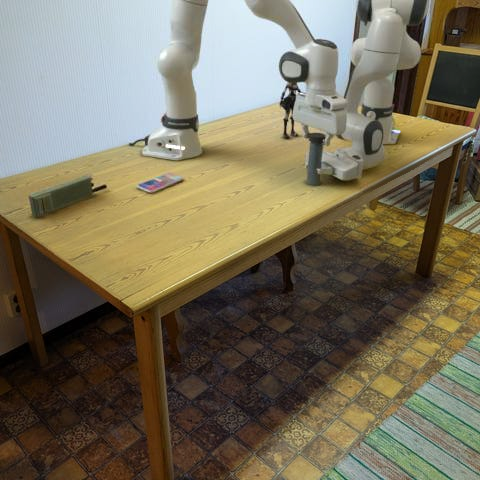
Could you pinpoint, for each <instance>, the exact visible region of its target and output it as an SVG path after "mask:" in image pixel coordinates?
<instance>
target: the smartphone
mask: <svg viewBox="0 0 480 480" xmlns="http://www.w3.org/2000/svg"><path fill="white" fill-rule="evenodd" d="M182 181H184V177H183V176H180V175H179V174H174V173H172V172H166V173H163V174H161V175H159V176H156V177H154V178H151V179H149V180H146V181H143V182H141V183H138V184H137V185H136V188H137V189H139V190H141V191H143V192H145V193H148V194H154V193H156V192H158V191H160V190H161V191H162V190H164V189H166V188H168V187H170V186H172V185H175V184H177V183H180V182H182Z"/></svg>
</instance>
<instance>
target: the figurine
mask: <svg viewBox="0 0 480 480" xmlns="http://www.w3.org/2000/svg"><path fill="white" fill-rule="evenodd" d="M287 90H288V92H289V93H288V94H287V96H286V92H287ZM300 92H302V91H301V88H299V86H298V83H289V82H287V83H286V85H285V87H284V89H283V91H282V92H281V96H280V101H279V108H280V109H281V108H282V109H283V110H284V111H285V115H284V118H283V119H282V121H283V133H282V137H283V138H284V139H286V140H289V139H290V136H289V135H288V132H287V130H288V129H287V127H288V123H289V122H290V124H291V130H290V135H291V136H294V137H298V136H299V133H297V132H296V131H295V121H294V120H293V109H294V104H295V101H296V95H297V94H298V93H300Z"/></svg>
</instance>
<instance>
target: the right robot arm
mask: <svg viewBox="0 0 480 480" xmlns="http://www.w3.org/2000/svg"><path fill="white" fill-rule="evenodd" d="M429 7H430V0H356V1H355V11H356V12H355V13H356V16H357V18H358V19H359V20H360V21H361V22H362V23H363V25H364V27H367V25H368V23H370V25H369V28H368V31H367V34H366V37H361V38H357V39H356V40H355V41H353V43H352V44H351V47H350V48H349V49H350V50H349V58H350V61H351V63H352V64H353V65H354V67H353V69H352V71H351V73H350V76H349V79H348V82H347V85H346V88H345V91H344V95H343V98H344V99H346V100H347V102H348V105H347V107H346V108H344V109H345V110H346V112H347V122H346V130H345V132H344V133H343V134H340V135H335V137H336V138H337V139H339V140H342V141H346V142H350V143H351V145H350V146H345V147H341V148H337V149H335V150H334V152H333V153H331V152H329V151H327V150H324V149H323V154H322V164H321V167H320V168H317V169H316V173H318V174H320V175H330V176H333V177H335V178H336V179H339V180H341V181H351V180H355V179H356V180H357V179H361V178H362V175H363V171H364V170H369V169H371V168H374V167H376V166H379V165H380V164H381V163H382V162H383V161H384V159H385V157H386V148H385V146H384V145H395V144H396V143H397V140H398V138H399V137H400V136H399V135H400V133H401V130H397V129H395V128H396V120H395V118H394V117H393V112H394V109H395V108H394V107H395V103H393V102H394V94H395V84H394V83H393V81H391V80H390V79H388V77H390V76H391V75H392V74H393V73H394V72H395V70H396V71H402V70H409V69H413V68H414V67H416V66H417V64H418V63H419V62H420V59H421V57H422V49H421V45H420V44H419V43H418V41H416V40H414V39H413V38H412V37H411V36H410V35H409V33H408V32H407V26H409V27H413V26H414V27H415V26H419V25H420V24H421V23H423V21H424V20H425V18H426V16H427V14H428V13H429ZM362 98H363V103H362V104H361V100H362ZM360 104H361V108H360V113H359V110H358V109H359V106H360ZM308 158H309V151H307V152H306V153H305V163H304V164H305V165H304V167H305V168H306V169H308Z"/></svg>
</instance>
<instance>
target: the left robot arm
mask: <svg viewBox="0 0 480 480" xmlns="http://www.w3.org/2000/svg"><path fill="white" fill-rule="evenodd" d="M244 2H245V4H246V6H247V8H248V10H249V11H250V12H251V13H252V15H254V16H256V17H257V18H259V19H262V20H266V21H268V22H272V23H274V24H276V25H278V26H279V27H280V28H282V29H283V31H285V33H286V35H287V37H289V39H290V42H291V43H292V45H293V46H294V49H291V50H287V51H286V52H284V53H283V54H282V56H281V57H280V59H279V62H278V70H279V74H280V77H281V78H282V80H284V81H285V82H287V83H288V82H289V83H297V84H298V83H305V92H302V91H301V92H300V93H298V92H297V93H296V101H295V104H294V109H293V120H294V122H295V123H298V124H301V125H300V127H301V130H302V132H303V134H302V135H303V136H302V137H303V138H304V139H307V140H309V135H310V133H311V132H310V130H309V127H310V128H314V129H316V130H319V131H322V132H325V135H326V138H325V139H324V140H323V146H324V147H329V146H330V145H331V140H332V139H333V137H334V136H336V135H340V134H343V133H344V132H345V130H346V122H347V112H346V110H345V109H344V108H346V107H347V105H348V102H347V100H346V99H344V96H342V95H341V94H340V93H339V92H337V91H336V90H337V85H336V79H337V76H338V72H339V71H338V70H339V49H338V45H337V44H336V43H335V42H333V41H331V40H328V39H323V38H316V39H315V37H314V36H313V34H312V33H311V31H310V29H309V28H308V26H307V24H306V22H305V21H304V19H303V17H302V15H301V14H300V12H299V11H298V9H297V7H295V5H294V4H293V3H292V1H291V0H244ZM208 4H209V0H173V2H172V7H171V11H170V12H171V13H170V16H169V17H170V18H169V23H170V24H169V25H170V36H169V37H170V38H169V45H167V46H166V47H164V48H163V49H162V50H161V51H160V52H159V55H158V57H157V60H156V68H157V71H158V73H159V75H160V79H161V82H162V86H163V90H164V98H165V113H163V114H162V116H161V118H160V123H161V125H159V127H157V128H156V129H155V130H154V131H152V132H151V133H149V134H148V135H146V136H145V137H144V138H140V139H137V140H135V141H134V142H129V143H128V145H129V146H135V145H136V144H138V143H139V142H144V147H143V148H142V150H141V155H142V156H145V157H152V158H157V159H164V160H170V161H176V162H178V161H182V160H185V159H190V158H191V159H192V158H196V157H198V156H200V155H202V153H203V149H202V148H203V147H202V145H201V142H200V134H199V128H200V121H199V114H198V103H197V100H198V99H197V91H196V89H195V86H194V85H195V84H194V80H193V70H195V69H196V68H197V66H198V64H199V61H200V56H201V54H200V53H201V47H202V39H203V37H202V35H203V29H204V23H205V19H206V15H207V9H208Z"/></svg>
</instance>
